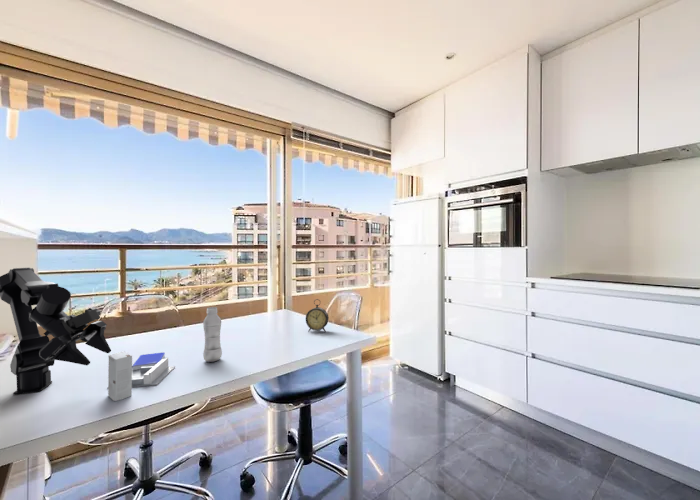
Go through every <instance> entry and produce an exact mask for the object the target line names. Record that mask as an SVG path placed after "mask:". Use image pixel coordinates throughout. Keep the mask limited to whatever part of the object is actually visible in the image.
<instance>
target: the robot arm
mask: <svg viewBox="0 0 700 500" xmlns="http://www.w3.org/2000/svg"><path fill="white" fill-rule="evenodd" d="M71 297H72V294H71V291H69V290H68V289H67V288H65V287H62V286H60V285H59V283H55V282H53V281H47V280H46V281H44V280H43V279H41V277H40V276H39V275H38V274H36V273H35V269H34V268H33V267H32V268H31V267H18V268H17V267H15V268H14V267H13V268H12V269H9V271H8V272H7V273H5V274H2V275H0V300H1V301H2V302H5V303H7V304H8V305H9V306H10V311H11V314H12V318H13V322H14V325H15V329H16V334H17V338H18V344H17V346H16V349H15V351H14V353H13V355H12V359H11V362H10V372H11V374H13V375H14V376H16V390H15V391H13V392H12V394H13V395H20V394H21V395H22V394H27V393H35V392H36V393H37V392H41V391H42V390H44V389H45V388H47V387H48V386H49V385H51V384H52V383H53V380H52V374H51V370H50V369H49V368H50V367H52V366H54V365H55V361H61V362H68V363H73V364H77V365H82V366H88V365H90V364H91V360H90V359H88V358H87V356H86V355H85V354H84V353H83V352H81V351H80V350H79V348H78V347H77V342H78V341H79V340H81V341H82V342H85V343H84V344H85V345H86V346H90V347H91V348H94V349H96V350H99V351H100V352H103V353H106V354H110V353H111V351H112V350H111V347H110V345H109V343H108V342H107V339H106V337H105V331H106V328H107V325H108V324H106V323H105V322H104V321H103V320H99V319H101V317H100V316H101V313H102V311H101V310H100V309H98V308H97V307H95V306H91V307H89V308H87V309H85V310H84V312H82V313H80V314H77V315H76V314H71V315H69V314H67V313H66V312H64V310H65V309H66V307H67V305H68V303H69V301H70V299H71ZM33 306H34V307H33ZM91 322H92V323H91ZM89 323H90V324H89ZM38 326H40V327H41V328H42V329H43V330H45V332H44V333H43V335H42V334H40V331H39V327H38ZM50 335H51V336H52V337H53V338H51V339H50V337H49V336H50Z"/></svg>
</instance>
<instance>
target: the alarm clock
mask: <svg viewBox="0 0 700 500" xmlns="http://www.w3.org/2000/svg"><path fill="white" fill-rule="evenodd" d="M316 301H319V302H321V300H320V299H319V298H316V299H314V300H313V304H314V305H315V307H313V308H312V309H309V311H308V312H307V313H306V315H305V323H306V325H307V327H308V328H309V329H308V332H310V331H316V332H317V331H321V330H323V331H324V333H326V332H327V331H326V329H325V327H326V326H327V325H328V323H329V313H328V312H327V310H326V309H324V308H322V307H319V306H320V305H321V303H319V304H316V303H315V302H316Z"/></svg>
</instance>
